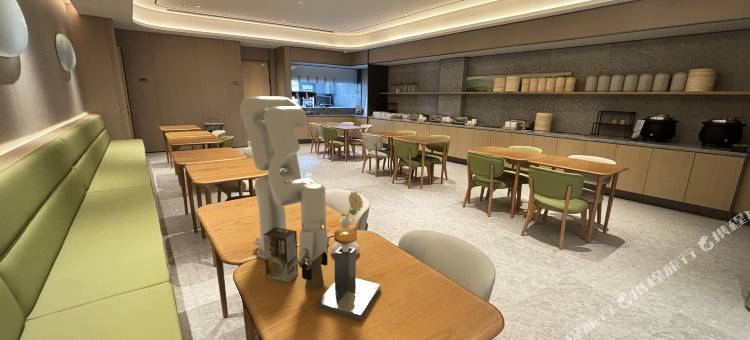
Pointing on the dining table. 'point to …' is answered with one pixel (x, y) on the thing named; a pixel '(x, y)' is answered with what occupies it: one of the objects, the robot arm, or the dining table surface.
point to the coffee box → (281, 254)
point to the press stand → (348, 289)
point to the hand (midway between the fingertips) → (315, 271)
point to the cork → (315, 274)
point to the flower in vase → (345, 222)
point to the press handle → (345, 237)
